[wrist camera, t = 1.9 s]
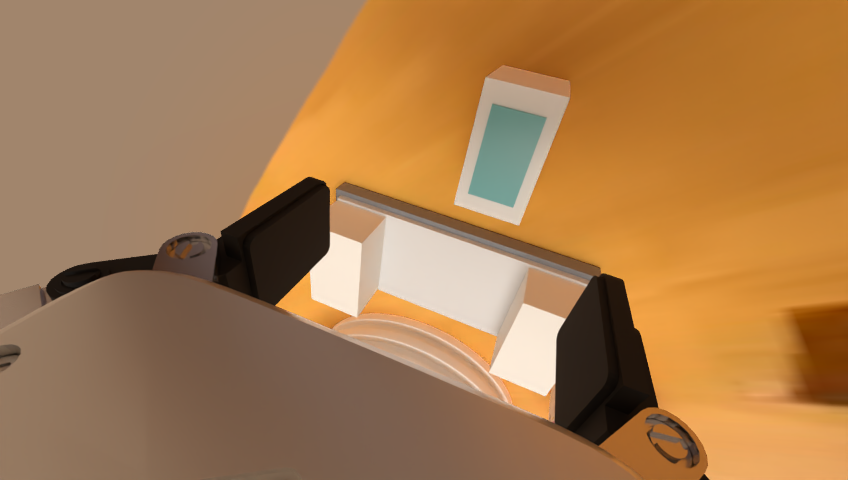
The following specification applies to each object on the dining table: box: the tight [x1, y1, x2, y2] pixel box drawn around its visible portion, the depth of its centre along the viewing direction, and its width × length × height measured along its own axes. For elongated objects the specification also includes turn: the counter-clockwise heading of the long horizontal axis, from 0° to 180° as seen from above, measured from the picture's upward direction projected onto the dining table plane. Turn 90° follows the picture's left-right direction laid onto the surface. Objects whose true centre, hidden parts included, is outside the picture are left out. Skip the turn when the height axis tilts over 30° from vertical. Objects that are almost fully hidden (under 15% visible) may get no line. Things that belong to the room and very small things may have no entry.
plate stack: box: [332, 313, 513, 405], centre depth 43 cm, size 28×28×12 cm
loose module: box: [454, 65, 570, 226], centre depth 22 cm, size 4×8×6 cm, turn 170°
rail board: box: [310, 183, 601, 396], centre depth 31 cm, size 24×10×7 cm, turn 80°
